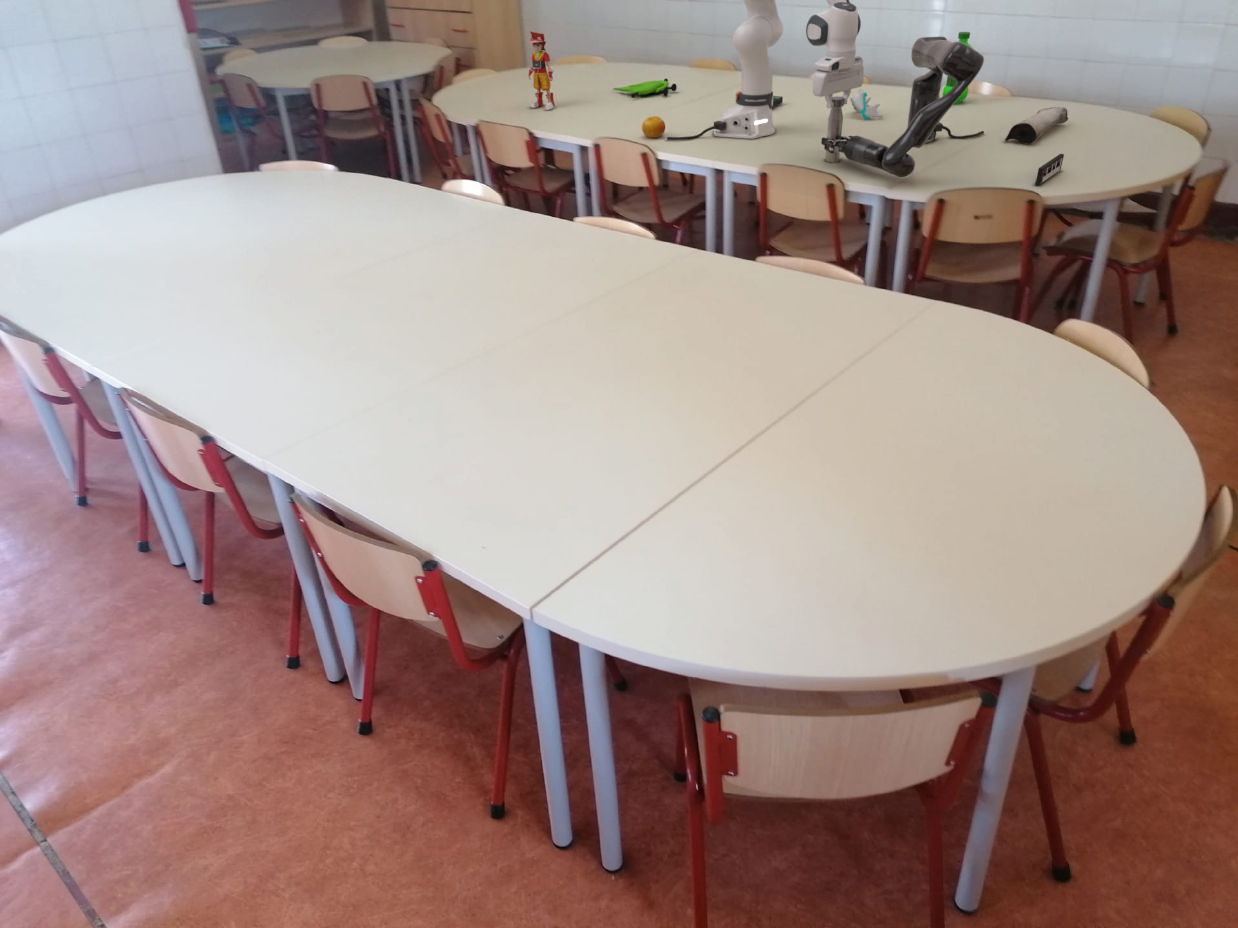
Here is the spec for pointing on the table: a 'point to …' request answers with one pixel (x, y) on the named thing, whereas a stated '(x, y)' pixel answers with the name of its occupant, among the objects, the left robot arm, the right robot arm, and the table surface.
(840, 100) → the cap
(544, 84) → the toy
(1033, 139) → the rolled mat
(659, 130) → the fruit
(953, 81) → the plastic bottle
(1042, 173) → the midi keyboard
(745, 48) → the left robot arm
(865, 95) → the anatomical model
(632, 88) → the toy
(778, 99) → the disk drive
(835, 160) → the bottle
